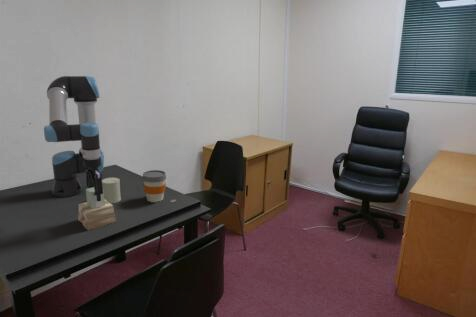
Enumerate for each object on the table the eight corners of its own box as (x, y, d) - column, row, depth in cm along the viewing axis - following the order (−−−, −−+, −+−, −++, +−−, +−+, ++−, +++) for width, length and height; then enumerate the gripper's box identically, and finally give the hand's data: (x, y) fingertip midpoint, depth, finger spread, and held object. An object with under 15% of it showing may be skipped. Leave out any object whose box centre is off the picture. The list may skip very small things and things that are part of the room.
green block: (87, 204, 163) (85, 188, 161) (99, 201, 167) (98, 186, 165) (92, 208, 159) (90, 192, 157) (105, 205, 163) (103, 189, 161)
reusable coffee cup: (150, 193, 201) (149, 168, 197) (170, 196, 198) (170, 171, 194) (139, 201, 189) (137, 175, 185) (159, 205, 186) (159, 178, 182)
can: (115, 204, 185) (113, 183, 182) (99, 202, 187) (98, 181, 183) (124, 197, 194) (122, 177, 190) (109, 195, 195) (107, 175, 192)
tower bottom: (78, 221, 167) (77, 212, 165) (105, 213, 175) (104, 205, 174) (88, 231, 157) (87, 222, 156) (115, 223, 166) (115, 214, 165)
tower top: (78, 212, 165) (78, 204, 164) (103, 206, 173) (103, 197, 172) (88, 221, 157) (87, 212, 155) (114, 214, 165) (113, 205, 163)
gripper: (75, 154, 161) (80, 200, 167) (91, 164, 148) (95, 213, 154) (92, 151, 166) (96, 196, 172) (108, 161, 152) (112, 209, 159)
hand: (96, 204), depth 163 cm, fingers closed on green block, 6 cm apart
